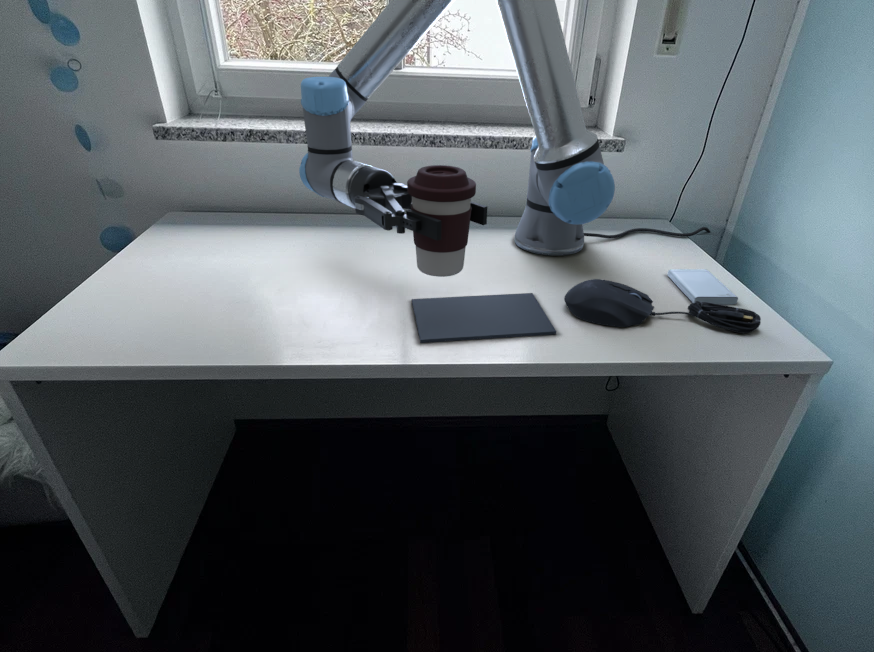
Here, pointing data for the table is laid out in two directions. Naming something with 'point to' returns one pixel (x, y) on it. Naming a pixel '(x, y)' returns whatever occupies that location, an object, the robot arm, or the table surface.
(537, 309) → the mat
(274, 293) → the table surface
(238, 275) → the table surface
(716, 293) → the hard drive
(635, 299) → the computer mouse
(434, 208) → the coffee cup
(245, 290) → the table surface
